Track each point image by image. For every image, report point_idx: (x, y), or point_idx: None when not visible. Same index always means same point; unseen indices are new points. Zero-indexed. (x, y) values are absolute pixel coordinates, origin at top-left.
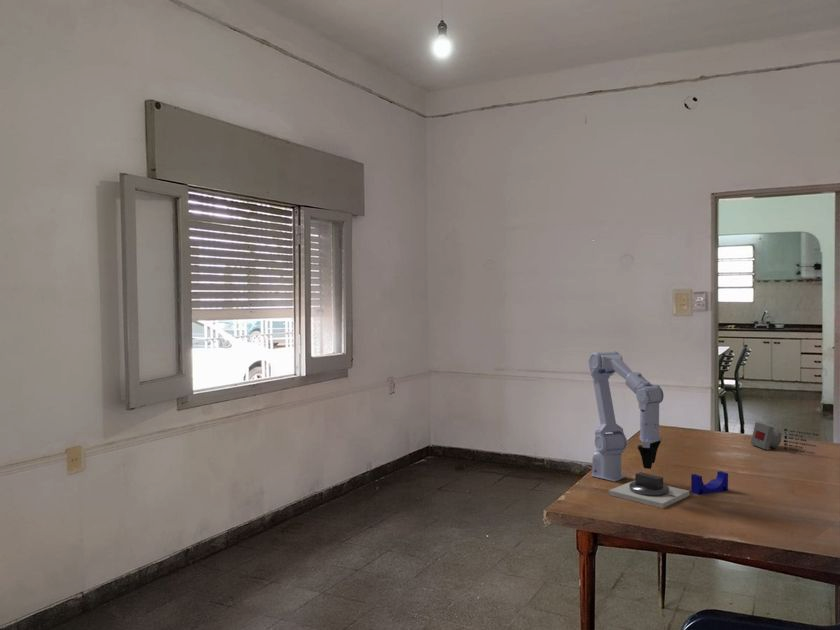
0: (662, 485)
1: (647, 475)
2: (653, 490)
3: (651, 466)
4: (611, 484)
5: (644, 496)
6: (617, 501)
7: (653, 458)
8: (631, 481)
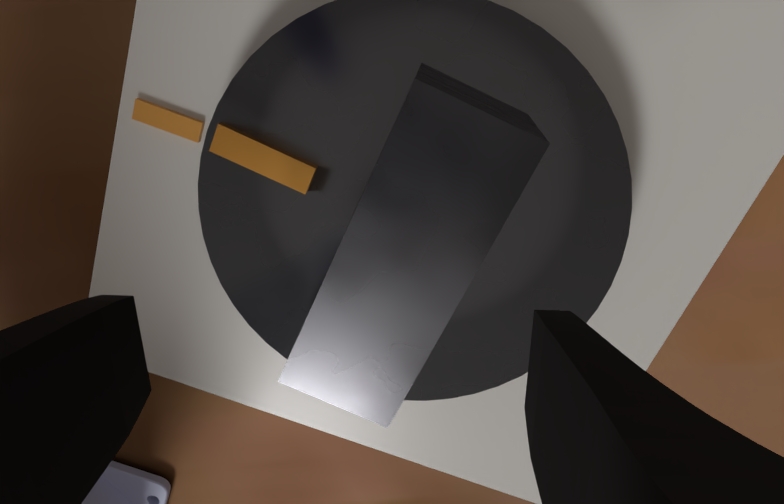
0: (437, 73)
1: (398, 295)
2: (551, 160)
3: (572, 321)
4: (247, 490)
5: (648, 226)
6: (708, 409)
7: (86, 349)
8: (184, 383)
